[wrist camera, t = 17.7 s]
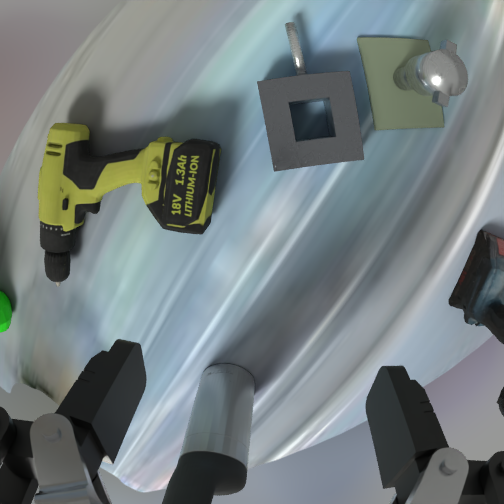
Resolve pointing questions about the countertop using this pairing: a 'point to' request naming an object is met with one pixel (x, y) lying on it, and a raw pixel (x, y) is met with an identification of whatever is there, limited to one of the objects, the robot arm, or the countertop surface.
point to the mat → (387, 93)
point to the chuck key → (434, 74)
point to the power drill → (483, 288)
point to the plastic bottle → (5, 312)
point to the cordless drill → (116, 175)
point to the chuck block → (303, 91)
